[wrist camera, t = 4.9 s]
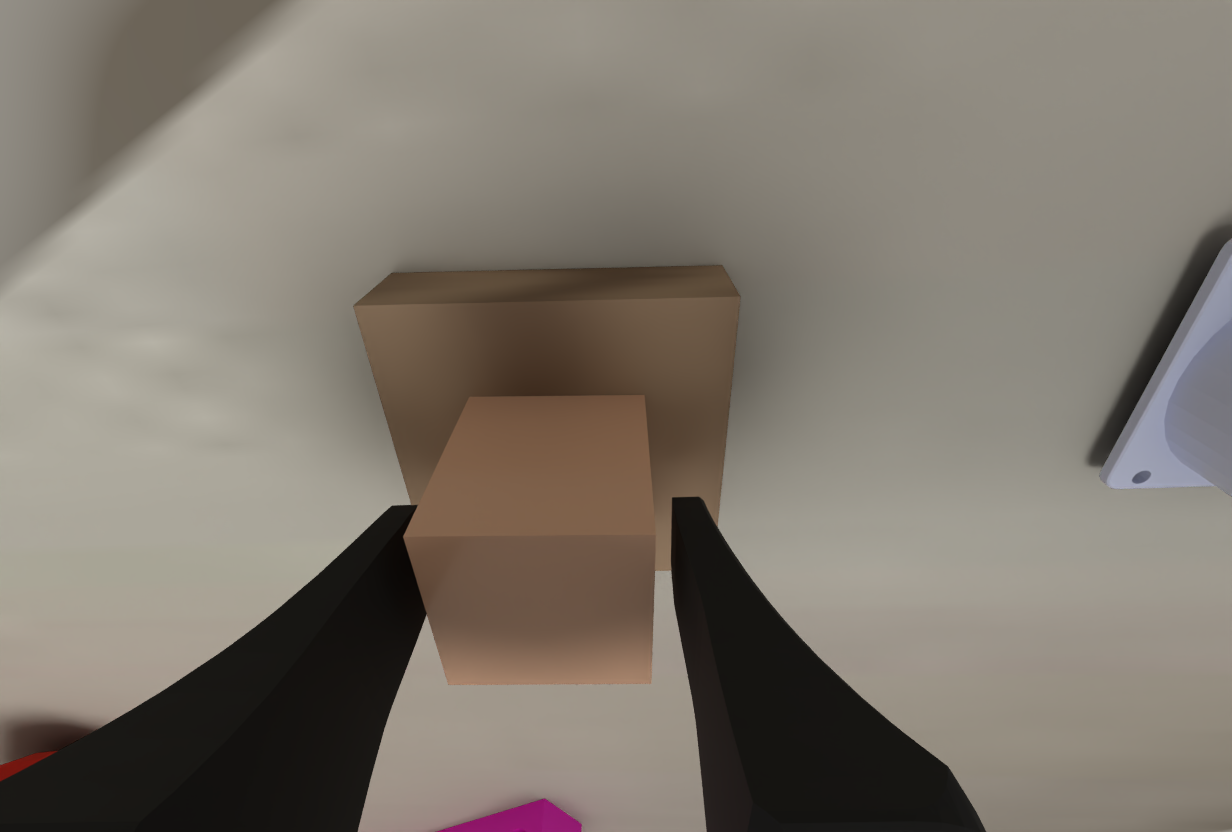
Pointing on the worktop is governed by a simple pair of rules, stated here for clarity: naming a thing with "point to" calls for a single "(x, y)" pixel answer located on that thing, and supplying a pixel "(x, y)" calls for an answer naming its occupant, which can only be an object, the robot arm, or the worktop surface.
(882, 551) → the worktop surface
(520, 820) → the toy block
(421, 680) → the worktop surface
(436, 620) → the terracotta block
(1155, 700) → the worktop surface
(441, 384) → the walnut block
